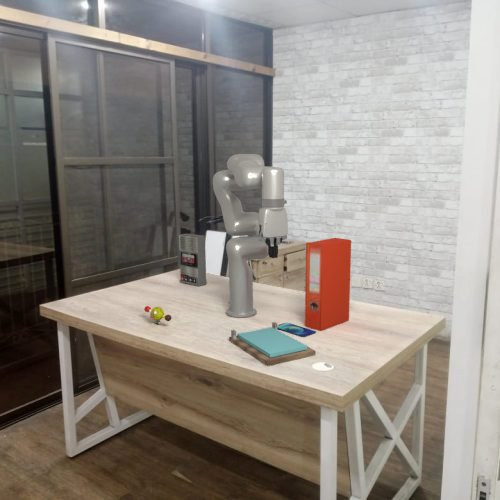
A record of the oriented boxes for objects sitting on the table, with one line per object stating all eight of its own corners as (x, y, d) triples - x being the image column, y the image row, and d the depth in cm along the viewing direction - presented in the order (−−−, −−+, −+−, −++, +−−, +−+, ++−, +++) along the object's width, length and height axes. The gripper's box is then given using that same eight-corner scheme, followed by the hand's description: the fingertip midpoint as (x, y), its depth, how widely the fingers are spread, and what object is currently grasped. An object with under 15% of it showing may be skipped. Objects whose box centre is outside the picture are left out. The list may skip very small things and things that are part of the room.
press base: (229, 341, 182) (229, 329, 182) (273, 332, 191) (273, 321, 190) (267, 366, 160) (267, 352, 159) (315, 355, 168) (315, 342, 168)
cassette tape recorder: (179, 282, 269) (177, 234, 265) (187, 280, 274) (186, 233, 269) (198, 286, 260) (196, 237, 256) (206, 284, 265) (205, 235, 261)
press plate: (236, 336, 182) (236, 332, 182) (270, 330, 189) (270, 326, 188) (270, 357, 162) (270, 353, 162) (307, 349, 169) (307, 345, 168)
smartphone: (303, 336, 185) (273, 326, 196) (303, 339, 185) (273, 328, 196) (317, 331, 190) (286, 322, 201) (317, 334, 190) (286, 324, 201)
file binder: (349, 321, 203) (351, 239, 197) (321, 331, 191) (322, 245, 186) (332, 316, 209) (334, 237, 203) (304, 326, 197) (305, 242, 191)
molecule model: (139, 320, 207) (139, 303, 206) (152, 317, 211) (151, 301, 210) (163, 331, 194) (162, 313, 193) (176, 328, 197) (175, 310, 196)
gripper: (285, 202, 184) (285, 253, 187) (248, 204, 177) (249, 257, 180) (297, 203, 177) (297, 256, 180) (259, 206, 170) (259, 261, 173)
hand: (273, 257), depth 180 cm, fingers closed
